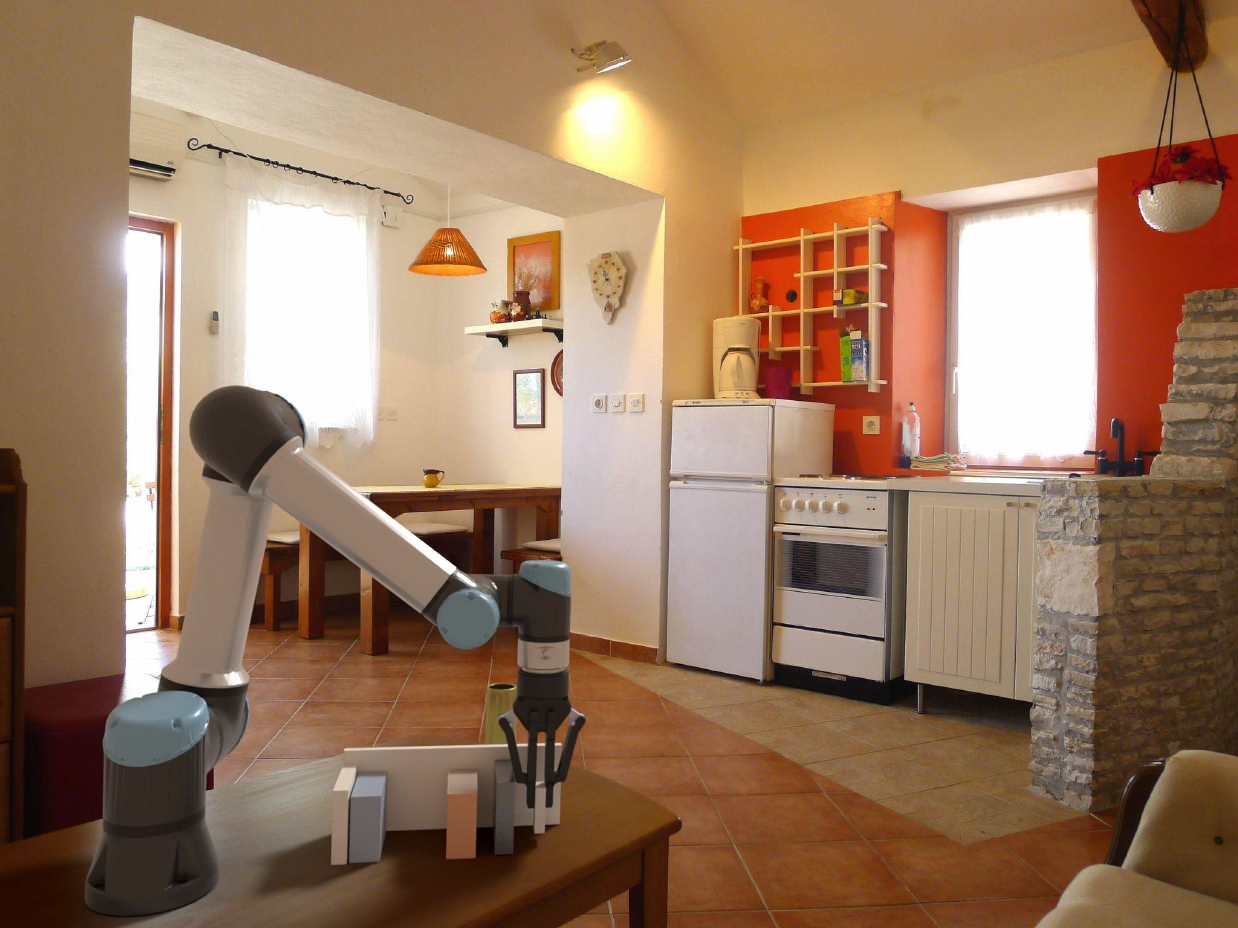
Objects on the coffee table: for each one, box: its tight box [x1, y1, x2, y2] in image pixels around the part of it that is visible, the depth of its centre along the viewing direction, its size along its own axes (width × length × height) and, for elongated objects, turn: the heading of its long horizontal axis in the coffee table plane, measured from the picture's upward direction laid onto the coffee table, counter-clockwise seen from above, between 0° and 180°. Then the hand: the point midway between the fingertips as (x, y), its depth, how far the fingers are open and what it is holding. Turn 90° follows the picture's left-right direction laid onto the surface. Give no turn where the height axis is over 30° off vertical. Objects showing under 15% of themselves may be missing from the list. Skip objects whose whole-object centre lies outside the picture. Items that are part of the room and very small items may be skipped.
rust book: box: [445, 769, 477, 860], centre depth 133 cm, size 4×10×9 cm, turn 9°
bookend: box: [492, 759, 515, 856], centre depth 134 cm, size 2×10×10 cm, turn 9°
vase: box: [484, 682, 517, 745], centre depth 167 cm, size 6×6×14 cm
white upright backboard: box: [330, 742, 563, 866], centre depth 134 cm, size 32×12×12 cm, turn 99°
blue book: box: [348, 772, 387, 864], centre depth 131 cm, size 4×10×9 cm, turn 9°
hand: (538, 829), depth 135 cm, fingers closed
